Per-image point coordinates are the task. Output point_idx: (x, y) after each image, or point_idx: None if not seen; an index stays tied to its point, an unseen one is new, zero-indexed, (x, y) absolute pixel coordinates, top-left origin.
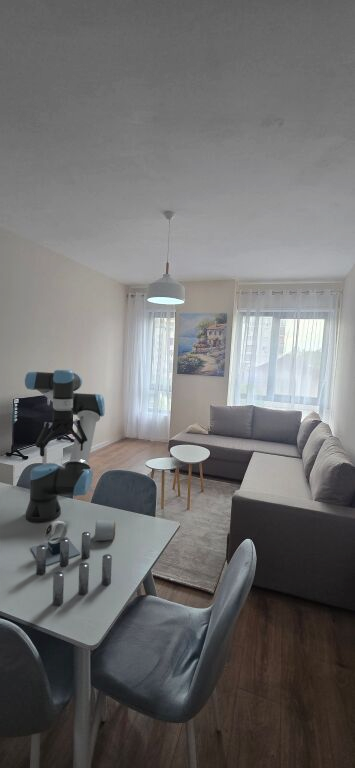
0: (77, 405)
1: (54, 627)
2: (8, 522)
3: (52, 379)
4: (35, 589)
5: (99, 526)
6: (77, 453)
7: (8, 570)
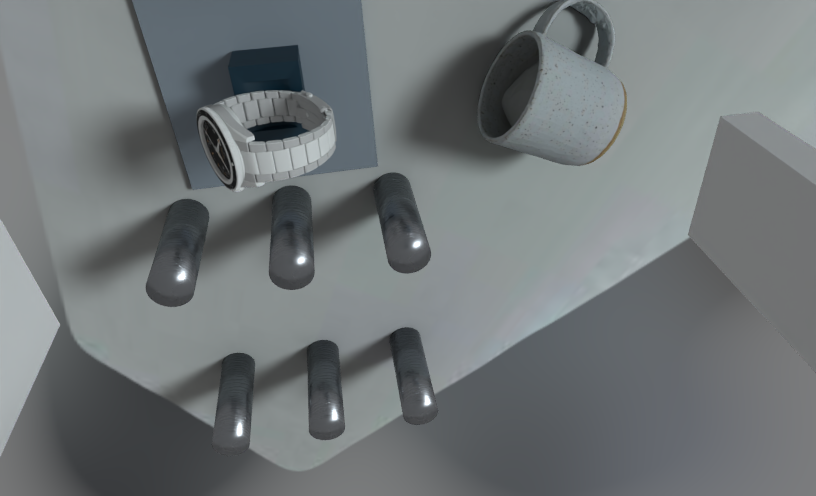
0: None
1: None
2: None
3: None
4: None
5: (522, 143)
6: (776, 248)
7: (33, 143)
